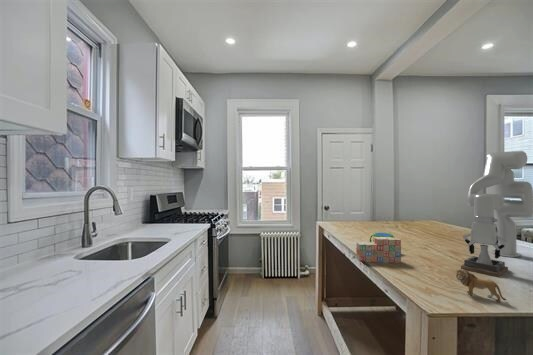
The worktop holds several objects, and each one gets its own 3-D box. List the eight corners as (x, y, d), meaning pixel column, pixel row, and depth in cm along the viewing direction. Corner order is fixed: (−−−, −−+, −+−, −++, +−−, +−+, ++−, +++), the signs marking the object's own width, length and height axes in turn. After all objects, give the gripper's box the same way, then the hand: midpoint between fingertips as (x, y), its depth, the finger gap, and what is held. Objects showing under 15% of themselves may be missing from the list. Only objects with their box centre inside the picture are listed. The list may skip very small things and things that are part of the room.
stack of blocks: (359, 262, 144) (359, 238, 144) (356, 258, 150) (356, 236, 150) (401, 263, 143) (401, 239, 143) (396, 259, 149) (396, 236, 149)
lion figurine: (455, 294, 103) (455, 270, 104) (456, 289, 108) (456, 266, 108) (507, 304, 95) (507, 278, 95) (505, 299, 99) (505, 274, 99)
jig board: (473, 263, 142) (472, 255, 143) (508, 270, 131) (507, 261, 131) (460, 268, 133) (460, 260, 133) (497, 276, 122) (497, 267, 122)
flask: (491, 265, 134) (491, 244, 134) (496, 269, 127) (496, 247, 127) (473, 263, 137) (473, 243, 137) (477, 267, 131) (476, 246, 131)
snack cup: (367, 250, 168) (367, 233, 168) (373, 247, 176) (373, 231, 176) (394, 255, 158) (394, 237, 158) (399, 251, 166) (399, 234, 166)
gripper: (509, 221, 128) (509, 258, 127) (465, 217, 142) (466, 250, 141) (504, 223, 123) (505, 261, 123) (460, 218, 137) (460, 253, 137)
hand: (484, 255), depth 132 cm, fingers open, 9 cm apart
